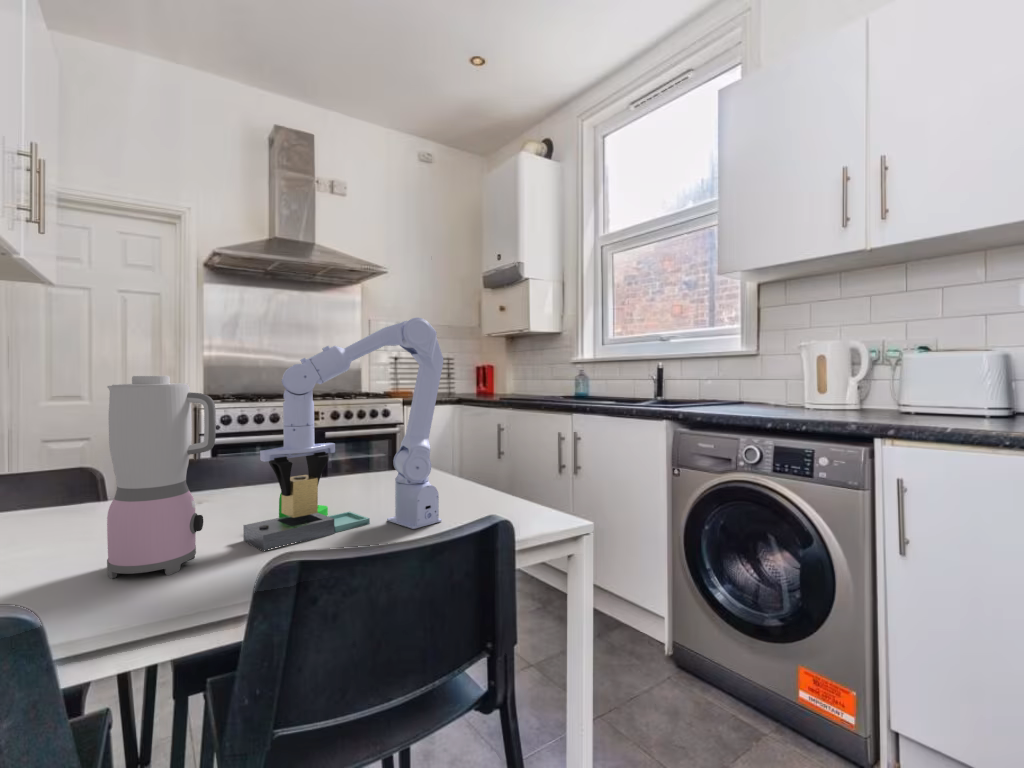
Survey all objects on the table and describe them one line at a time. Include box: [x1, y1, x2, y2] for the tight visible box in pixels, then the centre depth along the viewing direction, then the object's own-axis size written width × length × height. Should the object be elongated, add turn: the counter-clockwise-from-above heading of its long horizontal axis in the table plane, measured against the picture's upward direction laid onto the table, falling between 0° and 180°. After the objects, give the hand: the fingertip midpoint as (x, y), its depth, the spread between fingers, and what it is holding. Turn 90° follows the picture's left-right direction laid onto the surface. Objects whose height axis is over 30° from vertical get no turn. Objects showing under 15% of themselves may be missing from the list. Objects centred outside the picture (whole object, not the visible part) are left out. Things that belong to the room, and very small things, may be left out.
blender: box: [106, 375, 217, 579], centre depth 87 cm, size 16×12×32 cm
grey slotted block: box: [242, 513, 335, 552], centre depth 102 cm, size 9×14×3 cm, turn 138°
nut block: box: [281, 474, 319, 518], centre depth 103 cm, size 5×5×7 cm
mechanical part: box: [278, 492, 329, 518], centre depth 114 cm, size 12×6×8 cm, turn 173°
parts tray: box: [327, 511, 371, 533], centre depth 111 cm, size 8×8×1 cm
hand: (299, 492), depth 103 cm, fingers closed on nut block, 5 cm apart
